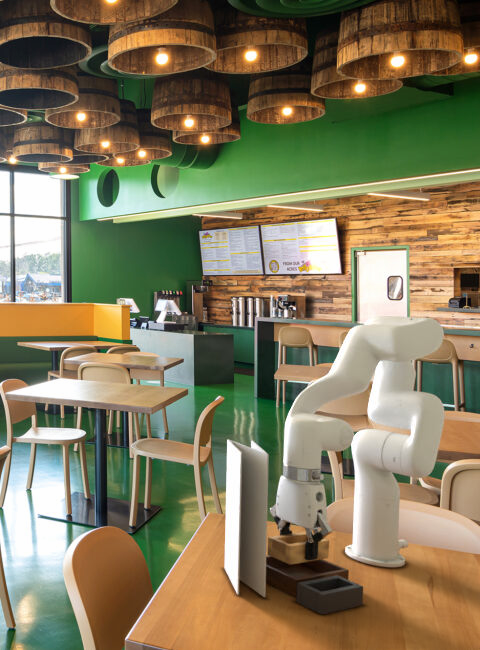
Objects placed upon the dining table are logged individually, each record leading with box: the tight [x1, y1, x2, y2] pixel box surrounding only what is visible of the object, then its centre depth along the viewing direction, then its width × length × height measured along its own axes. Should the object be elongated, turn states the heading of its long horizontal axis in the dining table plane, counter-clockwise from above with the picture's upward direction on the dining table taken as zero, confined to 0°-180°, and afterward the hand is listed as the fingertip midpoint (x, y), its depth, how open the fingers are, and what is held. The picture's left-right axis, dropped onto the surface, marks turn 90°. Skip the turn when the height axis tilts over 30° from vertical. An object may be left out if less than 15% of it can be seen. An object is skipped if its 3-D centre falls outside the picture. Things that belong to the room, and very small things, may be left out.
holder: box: [266, 554, 350, 598], centre depth 149 cm, size 16×13×4 cm
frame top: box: [266, 531, 330, 565], centre depth 149 cm, size 12×6×4 cm, turn 114°
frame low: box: [295, 575, 364, 615], centre depth 137 cm, size 12×6×4 cm, turn 114°
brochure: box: [223, 438, 270, 598], centre depth 146 cm, size 14×6×30 cm, turn 169°
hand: (298, 553), depth 149 cm, fingers closed on frame top, 6 cm apart
